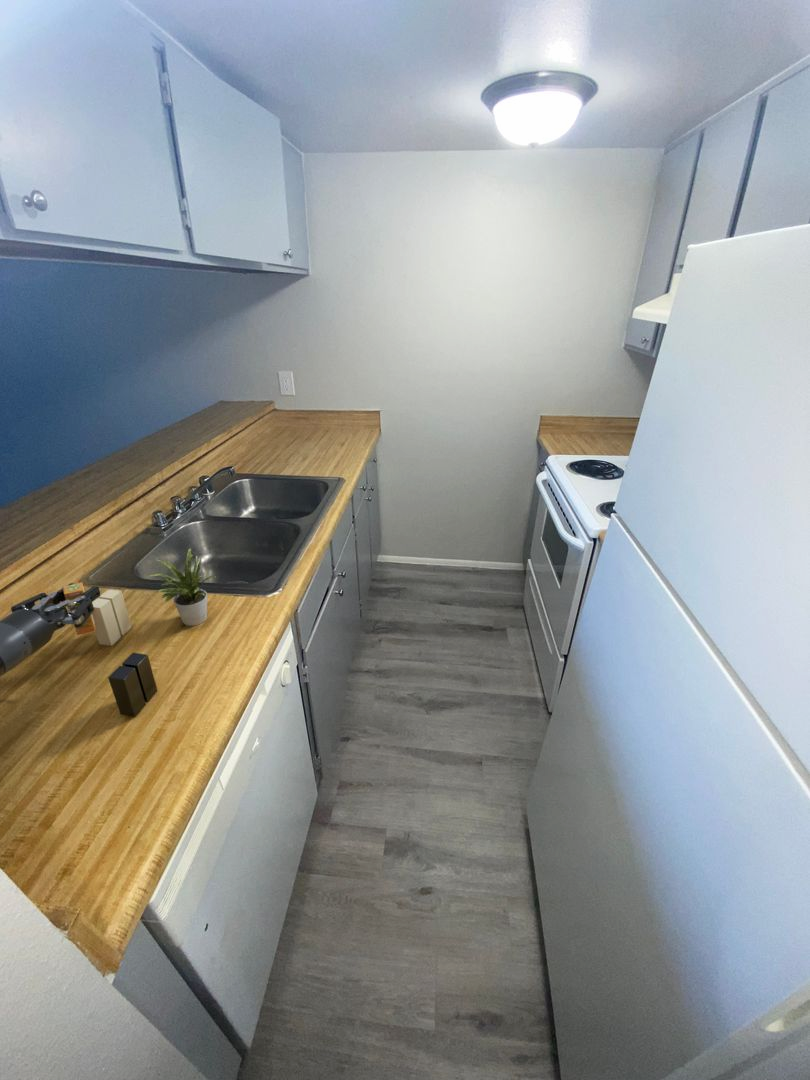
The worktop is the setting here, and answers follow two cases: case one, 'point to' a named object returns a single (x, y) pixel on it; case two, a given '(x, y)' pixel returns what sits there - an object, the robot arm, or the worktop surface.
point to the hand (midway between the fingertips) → (85, 588)
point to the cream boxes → (110, 617)
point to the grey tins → (133, 684)
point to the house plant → (186, 592)
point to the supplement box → (72, 593)
